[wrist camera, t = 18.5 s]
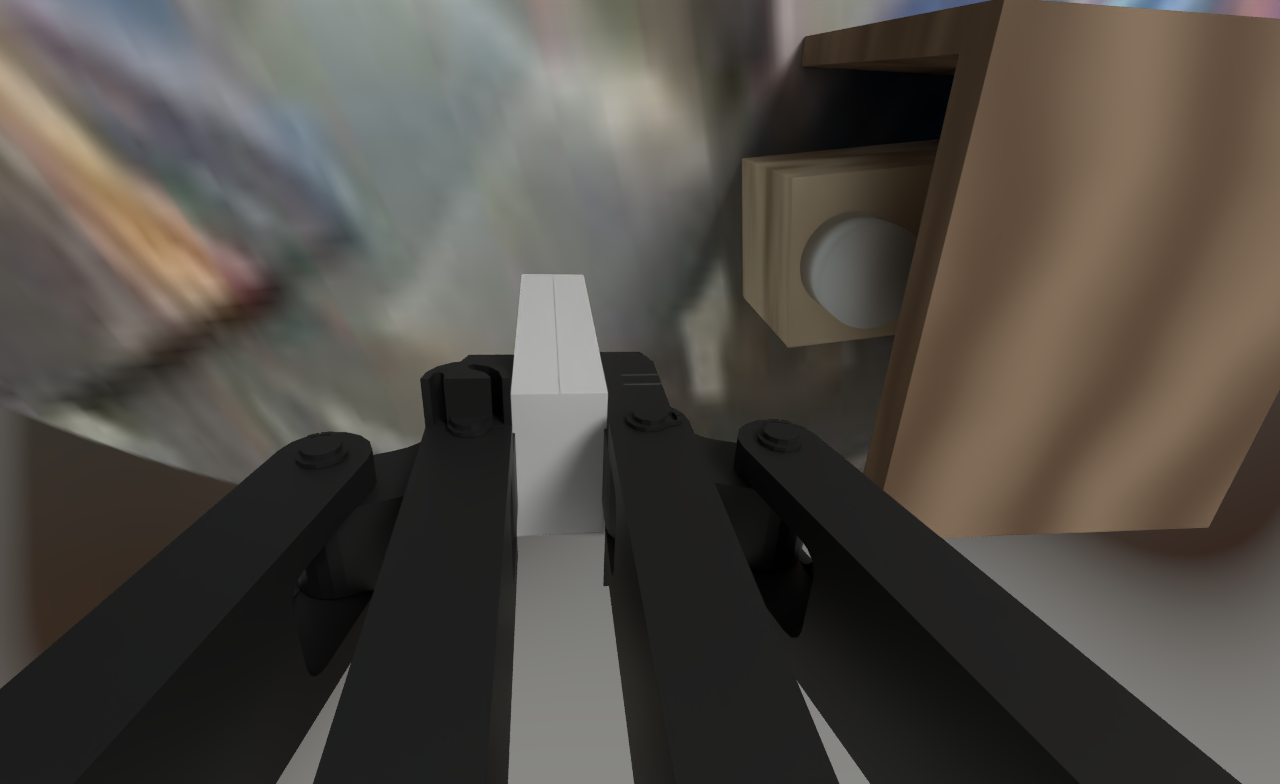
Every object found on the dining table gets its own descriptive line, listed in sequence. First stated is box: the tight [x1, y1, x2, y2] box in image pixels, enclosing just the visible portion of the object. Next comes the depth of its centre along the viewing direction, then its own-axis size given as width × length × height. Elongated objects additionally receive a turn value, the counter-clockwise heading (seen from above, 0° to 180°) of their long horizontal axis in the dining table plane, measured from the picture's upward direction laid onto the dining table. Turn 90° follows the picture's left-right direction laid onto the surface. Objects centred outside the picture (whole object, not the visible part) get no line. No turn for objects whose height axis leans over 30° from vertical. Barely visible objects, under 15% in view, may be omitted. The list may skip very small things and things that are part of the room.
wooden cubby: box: [801, 0, 1280, 538], centre depth 27 cm, size 14×17×14 cm
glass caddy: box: [742, 139, 940, 348], centre depth 29 cm, size 10×7×10 cm
